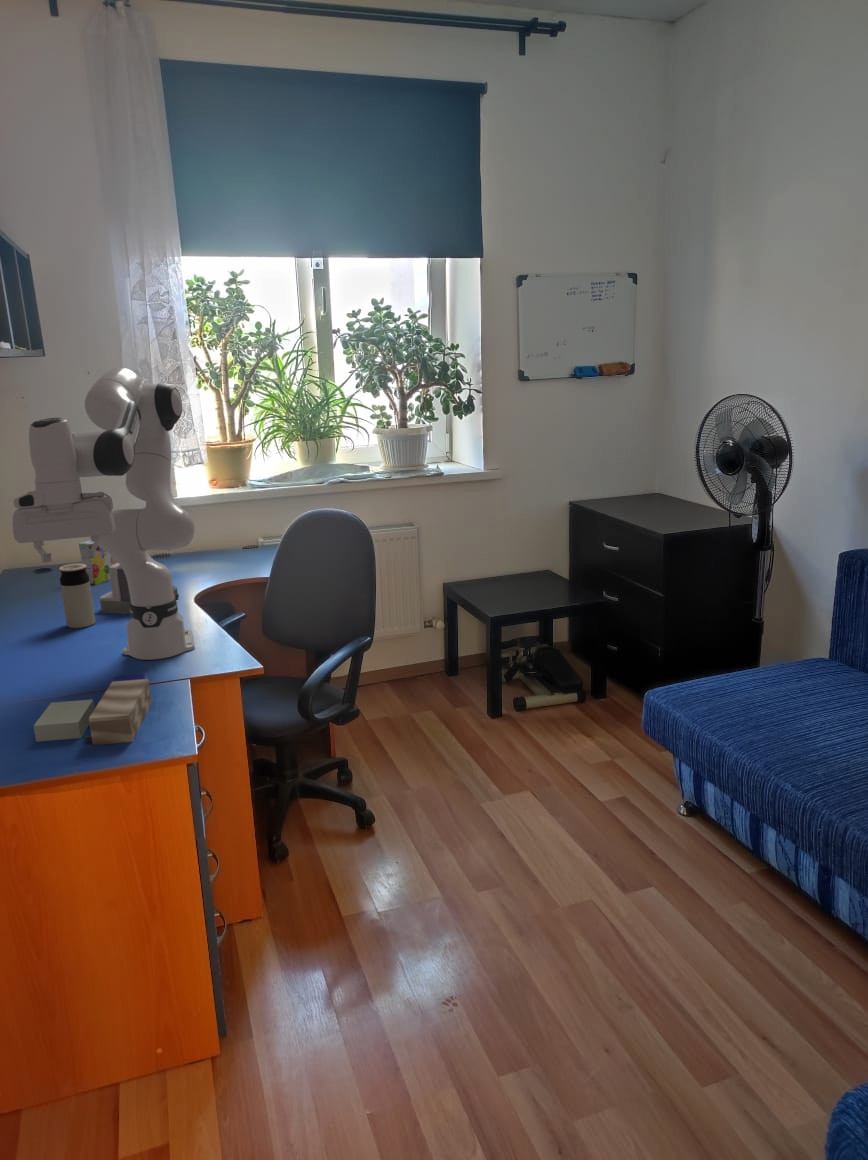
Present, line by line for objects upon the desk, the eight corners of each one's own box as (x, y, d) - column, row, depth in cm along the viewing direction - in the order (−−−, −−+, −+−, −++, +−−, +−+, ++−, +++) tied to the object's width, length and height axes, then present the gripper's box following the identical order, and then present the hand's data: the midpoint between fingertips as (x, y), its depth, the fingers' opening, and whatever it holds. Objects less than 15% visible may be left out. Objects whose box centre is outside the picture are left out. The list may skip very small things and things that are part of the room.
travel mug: (85, 629, 249) (76, 570, 244) (61, 628, 251) (52, 569, 246) (100, 620, 257) (92, 563, 252) (77, 620, 258) (68, 562, 254)
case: (53, 719, 189) (51, 702, 188) (95, 715, 190) (93, 699, 189) (36, 743, 178) (33, 725, 177) (81, 739, 179) (78, 722, 178)
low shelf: (106, 706, 194) (103, 682, 193) (151, 703, 195) (148, 678, 194) (82, 745, 175) (78, 719, 173) (132, 741, 176) (128, 715, 174)
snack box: (129, 569, 317) (123, 530, 313) (140, 570, 315) (135, 531, 311) (84, 584, 299) (78, 542, 295) (95, 585, 297) (89, 543, 293)
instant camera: (136, 593, 286) (131, 550, 282) (188, 597, 279) (183, 553, 275) (92, 612, 266) (86, 566, 262) (147, 617, 260) (141, 570, 256)
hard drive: (141, 691, 200) (146, 672, 211) (105, 695, 198) (111, 676, 210) (142, 697, 200) (146, 678, 212) (105, 701, 198) (112, 682, 210)
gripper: (113, 490, 184) (123, 552, 187) (15, 499, 182) (25, 562, 184) (107, 491, 178) (116, 556, 181) (4, 500, 176) (16, 566, 178)
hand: (70, 559), depth 182 cm, fingers open, 8 cm apart
